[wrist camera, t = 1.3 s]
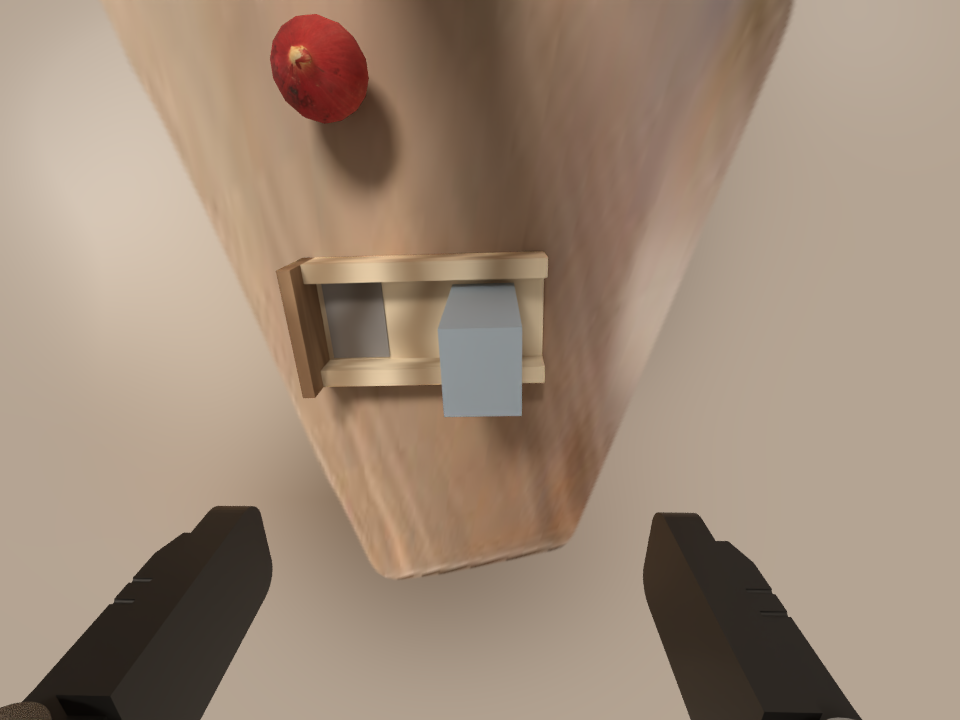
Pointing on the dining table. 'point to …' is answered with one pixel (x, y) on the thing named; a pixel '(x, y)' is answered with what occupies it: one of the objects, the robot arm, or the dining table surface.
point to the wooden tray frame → (396, 314)
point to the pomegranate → (319, 68)
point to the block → (481, 351)
